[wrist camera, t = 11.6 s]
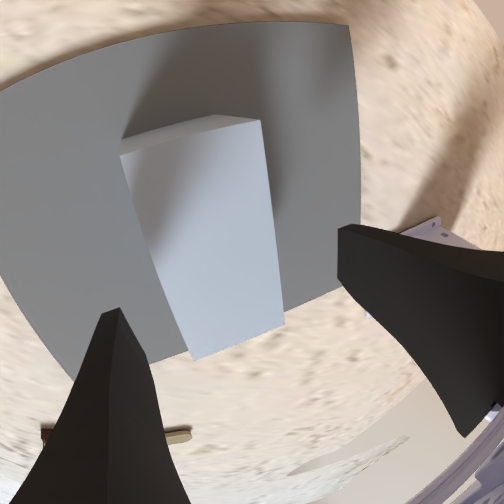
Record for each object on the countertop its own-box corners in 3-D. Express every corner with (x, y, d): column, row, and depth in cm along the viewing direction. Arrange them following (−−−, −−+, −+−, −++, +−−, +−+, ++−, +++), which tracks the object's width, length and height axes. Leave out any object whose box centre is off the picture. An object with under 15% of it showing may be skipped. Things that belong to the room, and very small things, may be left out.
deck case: (244, 271, 18) (284, 324, 14) (171, 297, 17) (193, 361, 13) (215, 114, 13) (260, 119, 9) (120, 139, 12) (119, 155, 8)
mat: (340, 27, 14) (348, 25, 13) (351, 273, 23) (357, 278, 23) (-47, 124, 8) (-55, 126, 7) (78, 378, 17) (78, 386, 17)
